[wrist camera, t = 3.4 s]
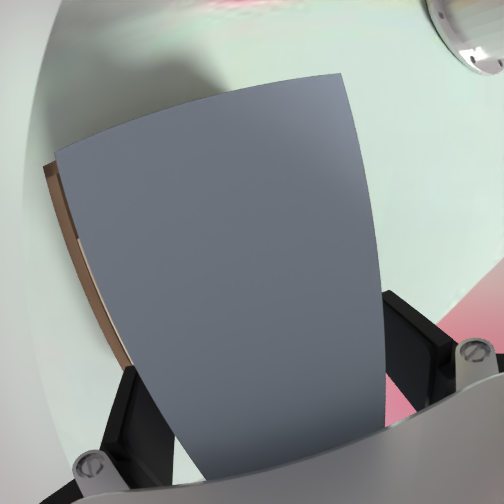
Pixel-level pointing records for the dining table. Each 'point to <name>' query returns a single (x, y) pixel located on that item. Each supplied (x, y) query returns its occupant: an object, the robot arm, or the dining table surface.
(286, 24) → the dining table surface
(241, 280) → the panel
